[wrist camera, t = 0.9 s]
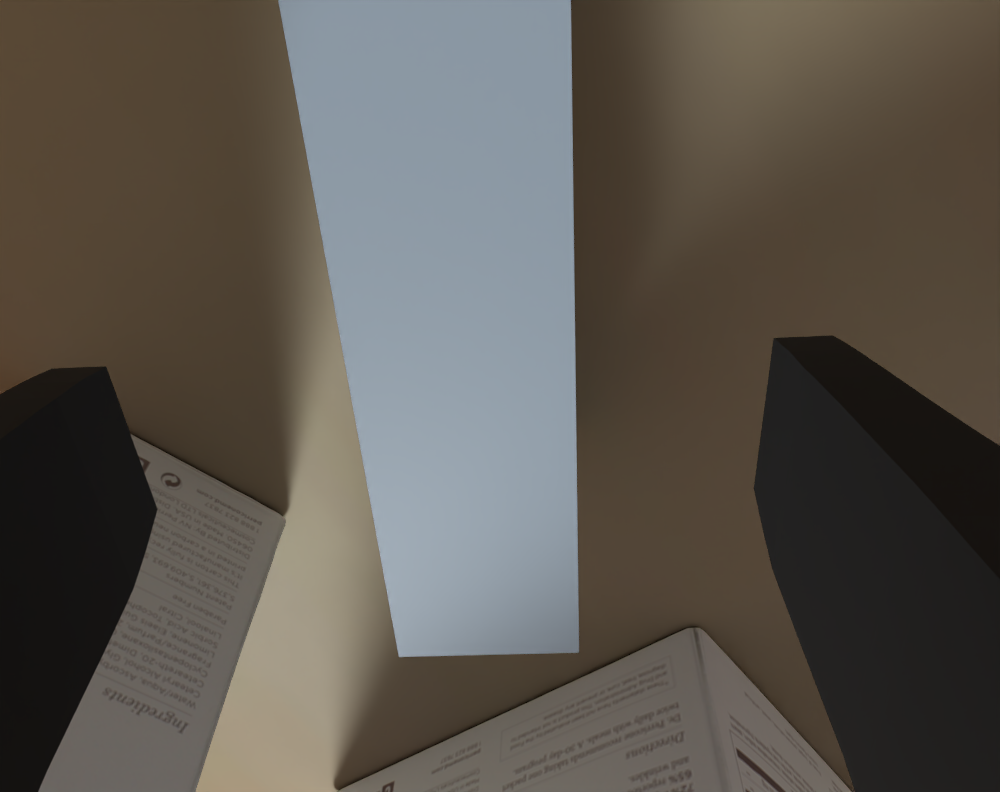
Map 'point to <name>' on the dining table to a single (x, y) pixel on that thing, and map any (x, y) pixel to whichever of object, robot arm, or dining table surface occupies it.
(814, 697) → the dining table surface
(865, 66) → the dining table surface
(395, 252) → the plain blue-gray board
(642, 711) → the supplement box
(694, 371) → the dining table surface
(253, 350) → the dining table surface
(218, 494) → the small box
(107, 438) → the robot arm
